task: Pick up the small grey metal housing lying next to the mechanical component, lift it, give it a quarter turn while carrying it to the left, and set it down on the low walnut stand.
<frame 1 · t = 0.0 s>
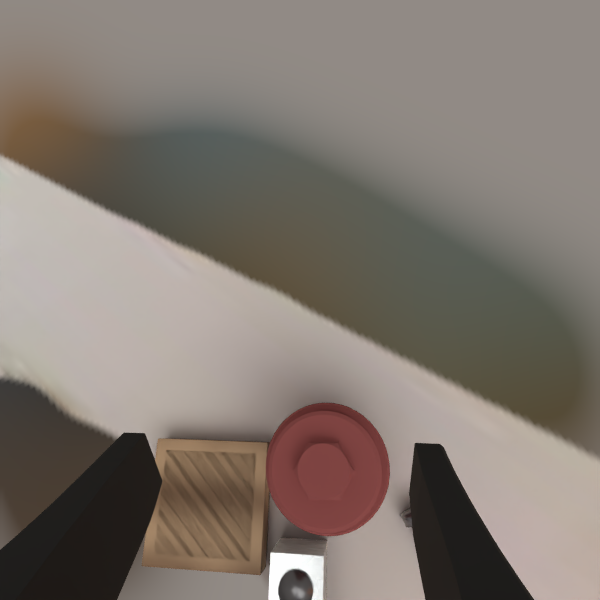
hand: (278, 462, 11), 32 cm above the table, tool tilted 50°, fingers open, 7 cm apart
stand: (214, 498, 41), on the table
mechanical component: (331, 460, 41), on the table
housing: (302, 587, 38), on the table
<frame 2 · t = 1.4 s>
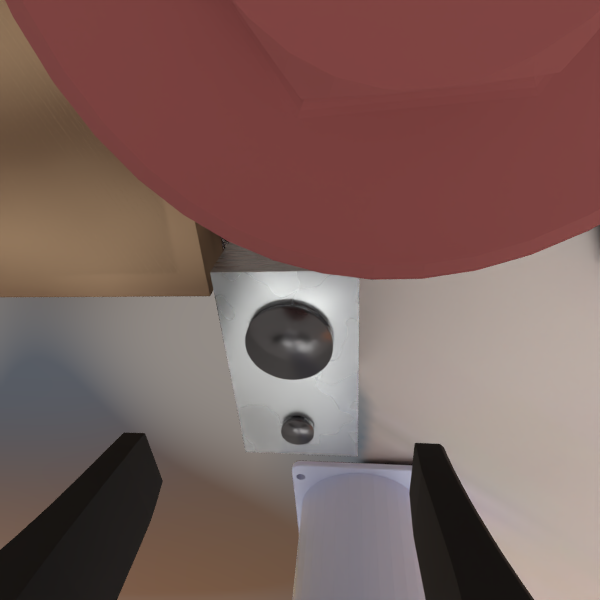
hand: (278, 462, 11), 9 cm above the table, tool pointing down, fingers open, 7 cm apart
stand: (66, 142, 16), on the table
housing: (307, 294, 19), on the table
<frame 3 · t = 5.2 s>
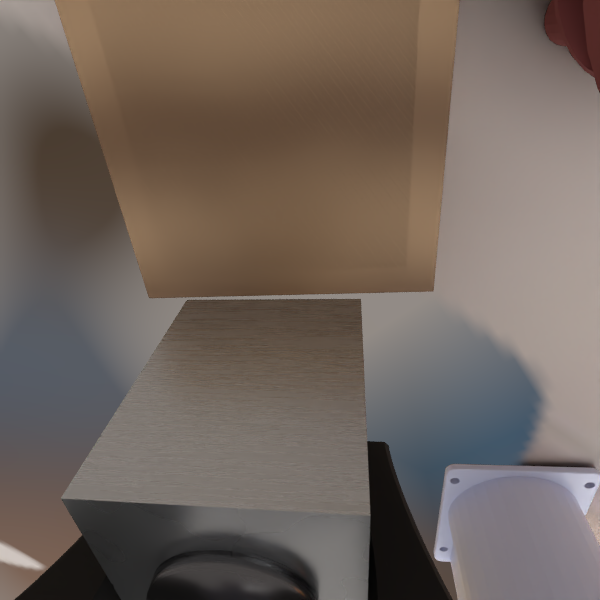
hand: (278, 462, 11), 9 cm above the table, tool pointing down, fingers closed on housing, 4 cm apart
stand: (278, 130, 15), on the table
housing: (285, 413, 12), point 7 cm above the table, touching gripper
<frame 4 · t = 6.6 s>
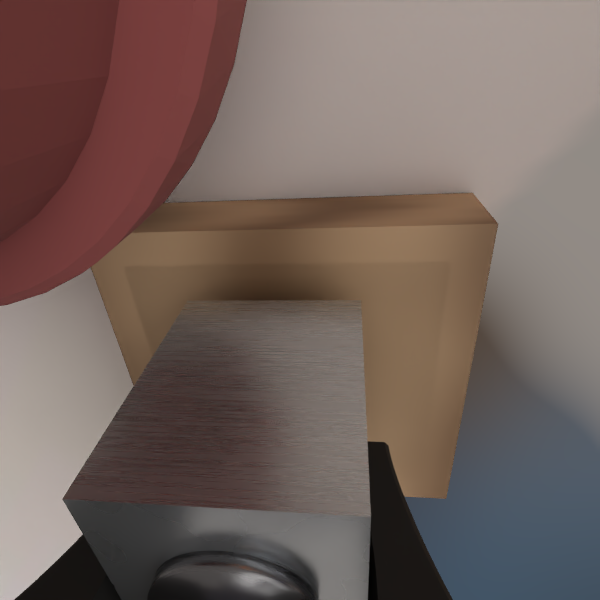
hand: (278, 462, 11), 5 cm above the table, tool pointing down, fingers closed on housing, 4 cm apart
stand: (299, 341, 16), on the table
housing: (285, 414, 12), point 4 cm above the table, touching gripper
when the fingers open (5 cm above the table, at t = 7.5 s): housing stays where it is, resting on stand.
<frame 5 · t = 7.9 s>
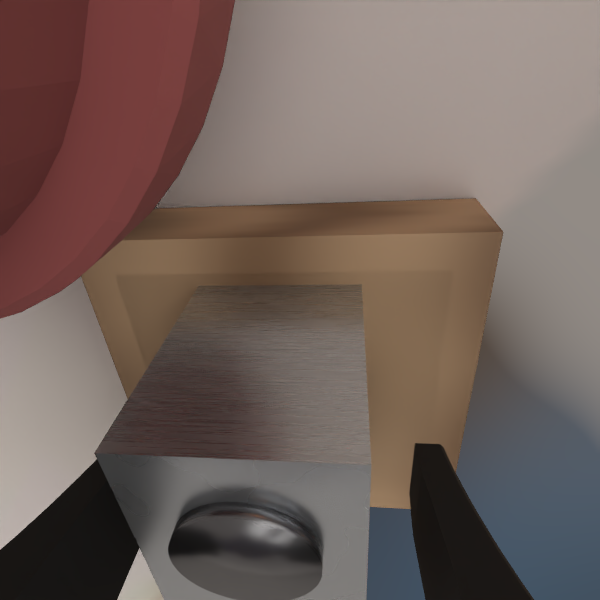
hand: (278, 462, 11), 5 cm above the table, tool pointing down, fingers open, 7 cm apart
stand: (297, 349, 15), on the table
housing: (289, 395, 13), point 2 cm above the table, touching stand
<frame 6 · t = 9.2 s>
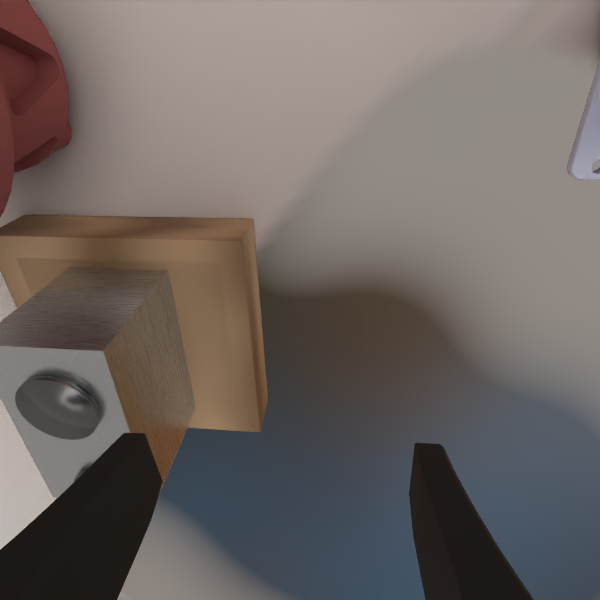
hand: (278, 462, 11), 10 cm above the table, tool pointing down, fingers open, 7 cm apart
stand: (158, 316, 22), on the table
mechanical component: (8, 69, 17), on the table
housing: (138, 343, 20), point 2 cm above the table, touching stand
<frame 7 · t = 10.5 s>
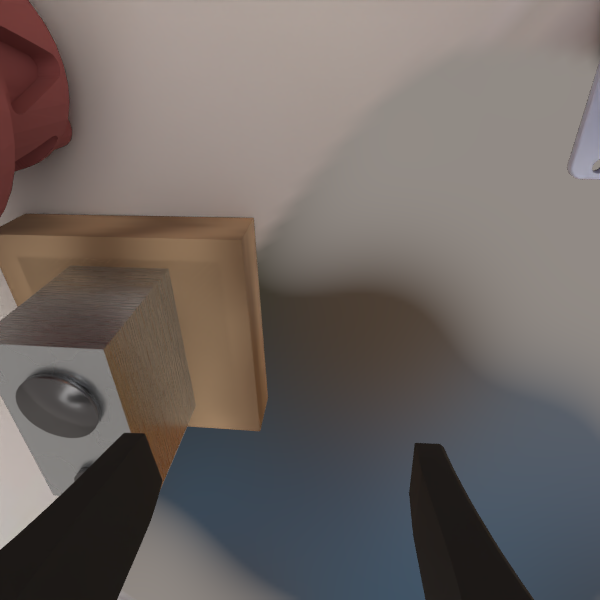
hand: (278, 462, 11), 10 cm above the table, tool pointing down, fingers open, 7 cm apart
stand: (159, 315, 22), on the table
mechanical component: (9, 68, 17), on the table
housing: (139, 342, 20), point 2 cm above the table, touching stand
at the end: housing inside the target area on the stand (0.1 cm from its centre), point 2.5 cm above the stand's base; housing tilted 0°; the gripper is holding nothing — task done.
